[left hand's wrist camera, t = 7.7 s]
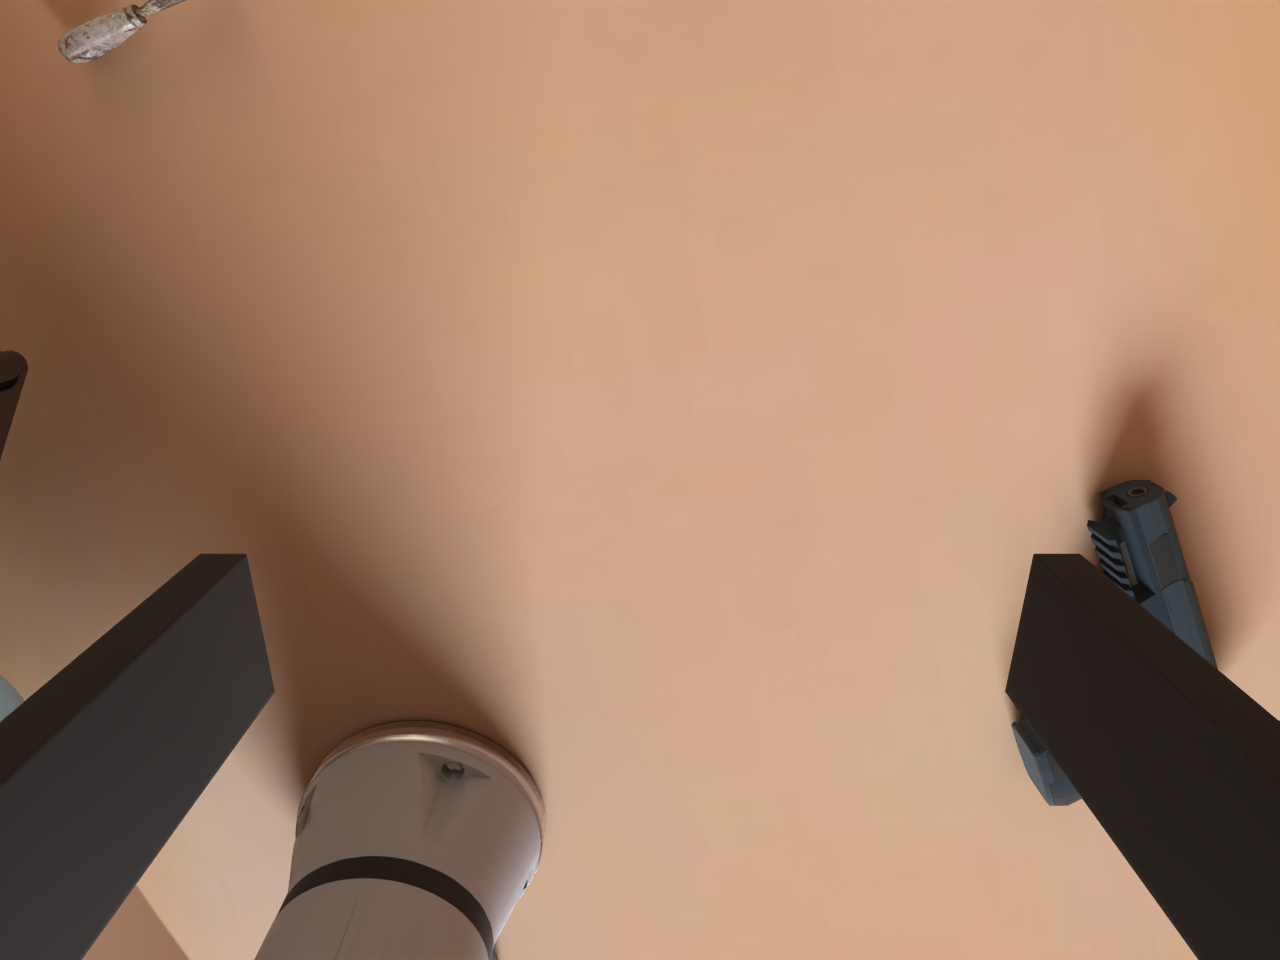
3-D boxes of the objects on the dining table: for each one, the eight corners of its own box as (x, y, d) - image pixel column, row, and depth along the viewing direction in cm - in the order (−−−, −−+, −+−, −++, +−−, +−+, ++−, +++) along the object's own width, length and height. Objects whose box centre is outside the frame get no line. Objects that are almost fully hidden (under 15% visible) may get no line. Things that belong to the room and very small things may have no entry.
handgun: (937, 558, 43) (1150, 467, 41) (1030, 781, 48) (1222, 710, 46) (960, 584, 40) (1189, 488, 38) (1055, 820, 45) (1262, 745, 43)
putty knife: (69, 46, 34) (41, 39, 32) (219, -40, 33) (198, -52, 31) (84, 69, 34) (57, 64, 33) (233, -15, 33) (213, -25, 32)
